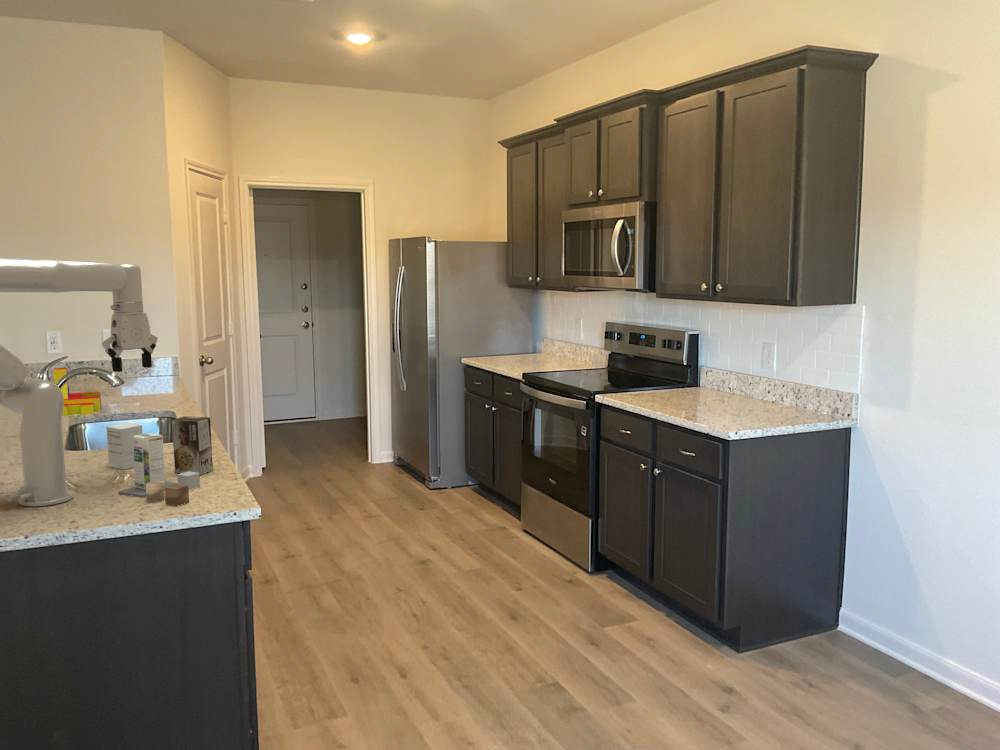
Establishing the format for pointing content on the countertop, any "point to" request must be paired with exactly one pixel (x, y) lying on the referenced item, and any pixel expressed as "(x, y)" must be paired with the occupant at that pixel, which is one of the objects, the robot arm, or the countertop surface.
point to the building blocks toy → (77, 398)
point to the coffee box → (192, 444)
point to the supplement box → (122, 444)
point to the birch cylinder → (155, 491)
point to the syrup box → (148, 459)
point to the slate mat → (141, 490)
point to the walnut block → (176, 494)
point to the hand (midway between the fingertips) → (132, 369)
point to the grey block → (189, 479)
